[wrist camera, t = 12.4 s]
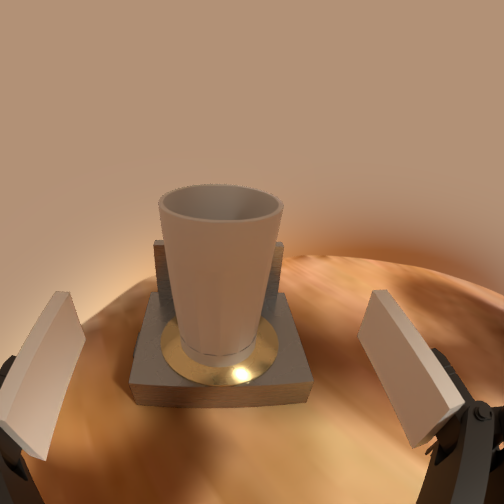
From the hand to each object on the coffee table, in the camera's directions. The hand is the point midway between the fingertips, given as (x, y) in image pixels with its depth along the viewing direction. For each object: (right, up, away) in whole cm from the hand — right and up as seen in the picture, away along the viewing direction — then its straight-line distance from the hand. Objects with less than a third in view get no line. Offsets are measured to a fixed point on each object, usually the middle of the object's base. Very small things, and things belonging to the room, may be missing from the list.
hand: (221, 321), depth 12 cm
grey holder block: (-2, -7, +15) cm, 16 cm away
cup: (-2, -5, +12) cm, 13 cm away
